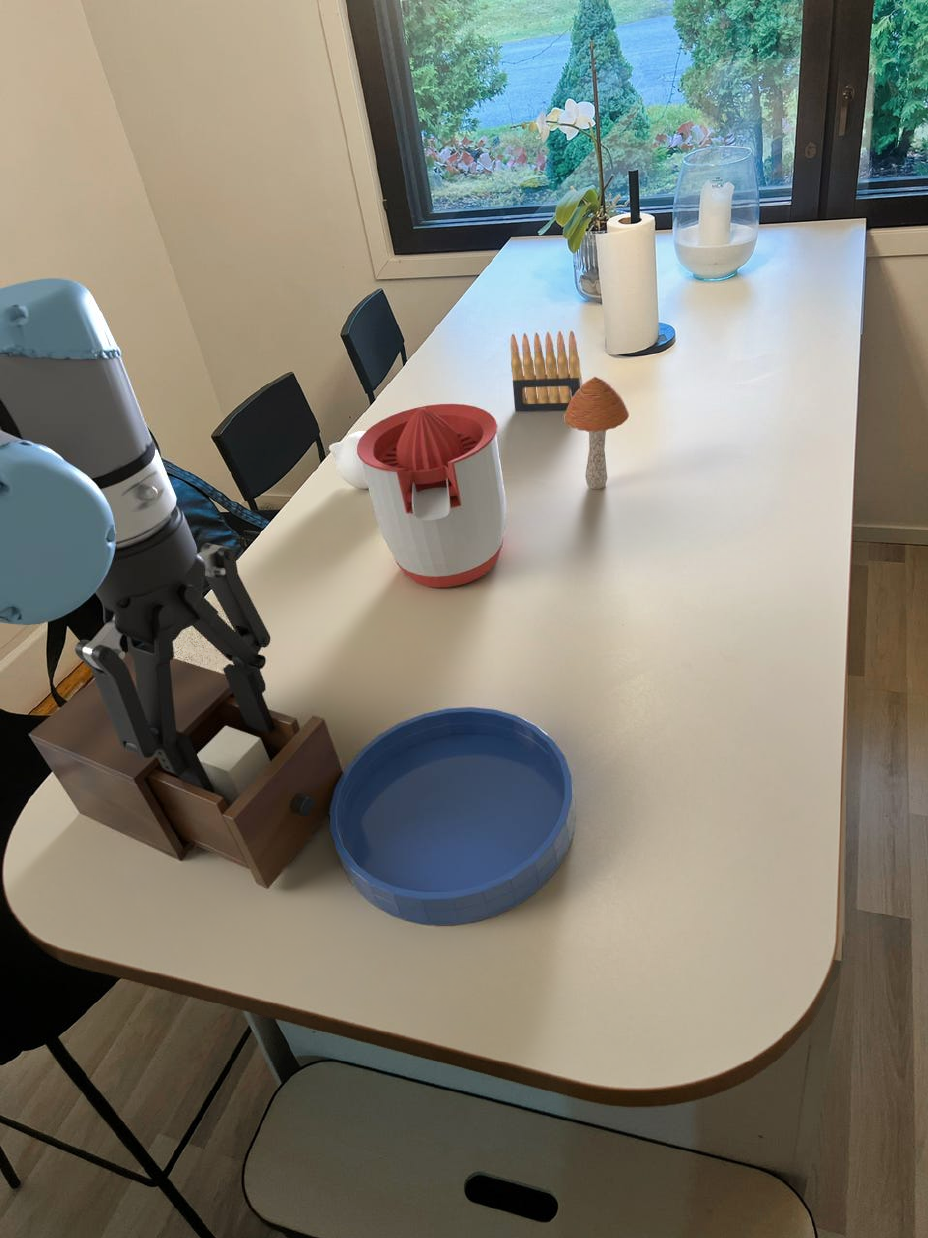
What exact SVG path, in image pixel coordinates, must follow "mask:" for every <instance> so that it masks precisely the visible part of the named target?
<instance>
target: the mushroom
mask: <svg viewBox="0 0 928 1238" xmlns="http://www.w3.org/2000/svg"><path fill="white" fill-rule="evenodd" d="M629 416H630V413H629V410H628V407H627V406H626V403H625V401H624V399H623V398H622V396H621V394H620V393H619V392H618V391H617V390H616V388H614V387H613V386H612V385H611V384H610V383H609V382H607V381H606V380H604V379H603V378H600V377H596V376H593V377H592V378H590V379H588V380H586V381H585V382H584V383H582V386H581V387H580V388H579V389H578V391H577V392H576V393H575V395H574V396H573V397H572V399H571V401H570V403H569V405H568V407H567V410H566V411H565V414H564V416H563V420H564V422H565V423H566V425H568V426H569V427H570V428H572V429H576V430H578V431H581V432H582V431H583V432H587V433H588V453H587V454H588V455H587V462H586V468H585V476H584V477H585V481H586V482H585V483H586V486H587V487H588V488H589V489H591V490H595V491H597V490H602V489H604V488H605V487H606V485H607V481H608V469H607V461H606V452H605V451H606V449H605V448H606V434H607V431H608V430H613V429H615V428H617V427H619V426H622V425H623V424H624V423H625V422H626V421H627V420H628V418H629Z"/></svg>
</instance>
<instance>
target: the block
mask: <svg viewBox="0 0 928 1238" xmlns="http://www.w3.org/2000/svg"><path fill="white" fill-rule="evenodd" d="M197 756H198V758H199V760H200V762H201V764H202V766H203V768H204V770H205V772H206V774H207V776H208V778H209V780H210V782H211V784H212V786H213V789H214V791H215V792H214V794H217V795H219V796H221V797H223V798H224V800H225V802H226V804H227V806H228V808H229V807H230V806H231V805H232V804H233V803H234V801H235V800H236V799H237V798H238V797H239V796H240V795H241V794H242V793H243V792H244V791H245V789H246V788H247V787H248V786H249V785H250V784H251V783H252V782H253V781H254V780H255V778H256V777H257V776H258V775H259V774H260V773H261V772H262V771H263V770H264V769H265V768H266V766H267V765H268V764H269V763H270V759H269V757H268V755H267V752H266V750H265V748H264V745H263V743H262V741H261V738H259V737H256V736H253V735H251V734H248V733H245V732H242V731H239V730H237V729H234V728H231V727H228V726H225V727H224V728H223V729H222V730H221V731H220V732H219V733H218V734H217V735H216V736H215V737H214V738H213V739H212V740H211V741H210V742H209V743H208V744H207V745H206V746H205V747H204V748H203V749H202V750H201V751H200V752H199V753H198V754H197Z"/></svg>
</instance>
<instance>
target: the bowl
mask: <svg viewBox="0 0 928 1238" xmlns="http://www.w3.org/2000/svg"><path fill="white" fill-rule="evenodd" d="M575 806H576V805H575V793H574V784H573V777H572V773H571V770H570V768H569V765H568V762H567V759H566V756H565V754H564V753H563V751H561V749H560V747H559V746H558V745H557V744H556V742H555V741H554V739H553V738H552V737H550V736H549V735H548V734H547V733H546V732H545V731H544V730H542V729H541V728H540V727H538V726H537V724H534V723H532V722H530V721H528V720H526V719H524V718H523V717H520V716H519V715H516V714H512V713H509V712H506V711H502V710H498V709H494V708H485V707H477V706H476V707H475V706H474V707H473V706H466V707H464V706H463V707H448V708H443V709H442V708H441V709H438V710H433V711H429V712H424V713H421V714H419V715H416V716H414V717H410V718H408V719H406V720H404V721H401V722H398V723H397V724H395V725H393V726H391V727H389V728H388V729H386V730H385V731H383V732H381V733H379V734H378V735H377V736H375V737H374V738H373V739H372V740H371V741H370V742H368V743H367V744H366V745H365V746H364V747H362V748H361V749H360V750H359V751H358V752H357V753H356V755H355V756H354V757H353V758H352V759H351V760H350V762H349V763H348V764H347V765H346V767H345V768H344V769H343V774H342V775H341V777H340V779H339V781H338V783H337V785H336V787H335V790H334V794H333V798H332V802H331V806H330V813H329V831H330V834H331V837H332V840H333V843H334V846H335V849H336V852H337V854H338V857H339V859H340V862H341V864H342V868H343V869H344V872H345V874H346V875H347V877H348V879H349V881H350V882H351V884H352V885H353V887H354V888H355V889H356V891H357V892H358V893H359V894H360V895H361V896H362V897H363V898H364V899H365V900H366V901H367V902H368V903H370V904H371V905H373V906H374V907H376V908H377V909H378V910H381V911H382V912H384V913H386V914H387V915H390V916H392V917H395V918H398V919H400V920H403V921H406V922H410V923H414V924H420V925H427V926H439V927H441V926H457V925H458V926H459V925H464V924H465V925H466V924H472V923H476V922H480V921H482V920H486V919H490V918H493V917H495V916H497V915H501V914H503V913H505V912H508V911H509V910H510V909H512V908H515V907H516V906H518V905H521V903H523V902H525V901H526V900H527V899H529V898H530V897H532V896H533V895H534V894H536V892H538V891H539V890H540V889H541V888H542V887H543V886H544V885H545V884H547V882H548V881H549V880H550V879H551V878H552V876H554V874H556V872H557V871H558V869H559V867H560V866H561V864H562V863H563V862H564V860H565V858H566V855H567V853H568V851H569V848H570V847H571V843H572V839H573V836H574V833H575V826H576V808H575Z"/></svg>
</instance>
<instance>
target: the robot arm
mask: <svg viewBox="0 0 928 1238" xmlns="http://www.w3.org/2000/svg"><path fill="white" fill-rule="evenodd" d="M122 355H123V354H122V352H121V349H120V347H119V346H118V345H117V343H116V340H115V339H114V337H113V334H112V332H111V331H110V328H109V326H108V323H107V321H106V319H105V317H104V314H103V313H102V311H101V310H100V308H99V306H98V304H97V303H96V300H95V299H94V297H93V295H92V293H91V291H89V290H88V288H86V287H85V286H84V285H83V284H81V283H79V282H77V281H75V280H71V279H66V278H61V277H51V278H50V277H48V278H40V279H33V280H27V281H22V282H17V283H14V284H11V285H7V286H3V287H1V288H0V623H3V624H9V625H19V626H31V625H40V624H44V623H45V624H46V623H49V622H52V621H55V620H57V619H60V618H62V617H64V616H67V615H68V614H70V613H72V612H74V611H75V610H77V609H78V608H79V607H81V606H82V605H83V604H84V603H86V602H87V601H88V600H89V599H90V598H91V597H92V596H93V595H94V594H95V595H96V596H97V598H98V599H99V600H100V602H101V604H102V610H103V612H102V614H103V616H102V618H103V619H102V620H103V623H104V626H103V627H102V628H101V629H100V630H99V631H98V632H97V633H96V635H95V636H94V637H93V638H92V640H88V639H82V640H79V641H78V642H77V644H76V645H75V648H74V651H75V654H76V656H77V657H78V658H79V659H80V660H81V661H82V662H83V663H84V664H85V665H86V666H87V667H88V668H89V669H90V670H91V672H92V676H93V678H94V679H95V680H96V683H97V685H98V688H99V691H100V693H101V696H102V698H103V701H104V703H105V706H106V709H107V711H108V714H109V716H110V719H111V721H112V724H113V727H114V729H115V732H116V734H117V737H118V739H119V742H120V745H121V747H122V748H123V749H126V750H128V751H130V752H133V753H135V754H138V755H140V756H143V757H145V758H150V757H152V756H153V755H154V754H156V756H157V758H158V759H159V762H160V763H161V765H162V767H163V769H165V770H167V771H169V772H171V773H174V774H176V775H178V776H179V778H180V780H182V781H185V782H187V783H190V784H192V785H195V786H197V787H199V788H202V789H204V790H207V791H209V792H212V793H214V792H215V791H214V789H213V786H212V784H211V782H210V780H209V778H208V776H207V774H206V772H205V770H204V768H203V766H202V764H201V762H200V760H199V758H198V756H197V754H196V752H195V750H194V748H193V746H192V743H191V741H190V739H189V737H188V735H187V734H184V733H182V732H179V731H176V723H175V712H174V701H173V690H172V679H171V668H170V660H171V659H173V658H175V652H174V641H175V640H177V638H178V637H179V635H180V634H181V633H182V632H183V631H184V630H187V629H188V628H190V627H193V629H195V630H196V631H197V632H198V633H199V634H200V635H201V636H202V637H203V638H204V639H205V640H206V641H208V642H209V643H210V644H211V645H212V646H213V647H214V648H215V649H216V650H218V651H219V653H221V655H223V657H225V658H226V660H228V661H230V662H231V663H228V664H227V665H226V666H225V667H223V669H222V671H223V674H225V676H226V678H227V680H228V683H229V685H230V687H231V690H232V692H233V695H234V697H235V699H236V702H237V704H238V706H239V709H240V711H241V713H242V716H243V718H244V720H245V723H246V725H247V726H249V727H252V728H255V729H258V730H261V731H263V732H266V733H269V734H270V733H271V732H272V731H273V730H274V729H275V725H274V723H273V720H272V717H271V715H270V712H269V710H270V709H269V708H268V705H267V702H266V700H265V697H264V695H263V693H264V692H265V691H267V690H266V689H267V688H266V682H265V679H264V677H263V674H262V671H261V670H262V669H263V668H264V667H265V665H266V662H267V658H266V656H265V655H262V654H259V653H260V652H261V650H262V648H263V649H266V648H267V647H269V645H270V643H271V636H270V633H269V632H268V629H267V627H266V626H265V625H266V624H264V621H263V619H262V618H261V616H260V613H259V612H258V610H257V608H256V606H255V604H254V601H253V600H252V598H251V596H250V594H249V591H247V588H246V586H245V585H244V582H243V580H242V578H241V576H240V574H239V572H238V565H237V559H236V554H235V551H234V549H233V548H231V547H226V546H222V545H217V544H213V543H209V542H206V543H204V544H203V545H202V546H201V547H200V551H199V552H198V547H197V544H196V542H195V539H194V536H193V534H192V532H191V529H190V526H189V524H188V521H187V519H186V516H185V514H184V511H183V510H182V509H181V507H180V506H179V505H177V499H178V498H177V495H176V493H175V491H174V488H173V486H172V482H171V480H170V478H169V476H168V474H167V471H166V468H165V466H164V464H163V461H162V458H161V455H160V453H159V451H158V448H157V447H156V444H155V442H154V439H153V437H152V435H151V434H150V430H149V428H148V425H147V423H146V420H145V418H144V415H143V412H142V409H141V407H140V404H139V402H138V399H137V395H136V394H135V391H134V389H133V386H132V383H131V380H130V378H129V376H128V375H129V374H128V373H127V369H126V368H125V365H124V362H123V359H122V357H121V356H122ZM205 580H206V581H207V583H208V585H209V588H210V589H211V590H212V592H213V594H214V596H215V598H216V599H217V601H218V603H219V605H220V607H221V608H222V610H223V612H224V614H225V617H226V618H227V619H228V621H229V623H230V625H229V624H228V623H227V622H226V621H225V620H224V619H223V618H222V617H221V616H220V615H219V611H218V610H217V609H216V608H215V606H213V604H211V603H210V602H209V601H208V600H207V599H206V597H204V596H203V592H204V585H205V584H204V583H205ZM124 636H125V637H126V641H127V642H126V643H127V651H129V653H130V655H131V656H132V657H133V659H134V666H135V675H136V685H137V691H136V688H135V685H134V683H133V680H132V677H131V674H130V672H129V670H128V668H127V666H126V664H125V663H124V662H123V661H122V660H123V659H124V658H125V653H126V652H125V651H124V650H123V648H122V646H121V639H122V637H124ZM268 709H269V710H268Z"/></svg>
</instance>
